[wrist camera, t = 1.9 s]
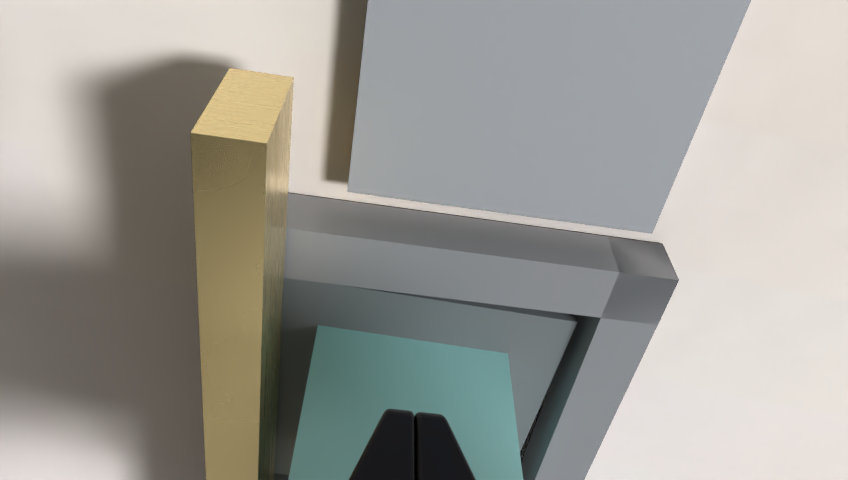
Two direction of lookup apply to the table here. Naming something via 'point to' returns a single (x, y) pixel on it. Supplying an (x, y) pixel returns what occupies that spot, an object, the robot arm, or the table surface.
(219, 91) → the clip
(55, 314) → the table surface
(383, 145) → the pad
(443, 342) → the plug
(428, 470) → the robot arm
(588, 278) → the socket
